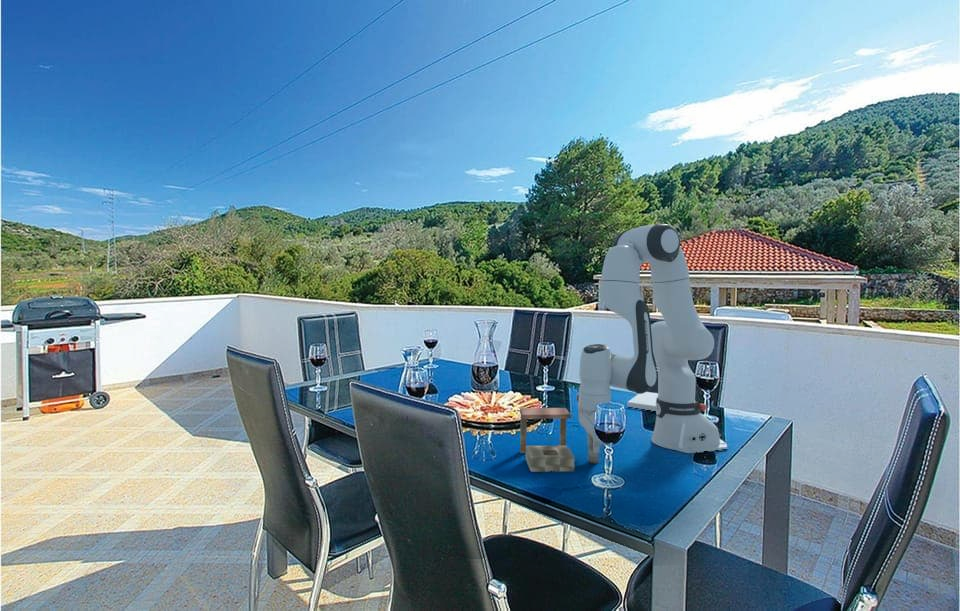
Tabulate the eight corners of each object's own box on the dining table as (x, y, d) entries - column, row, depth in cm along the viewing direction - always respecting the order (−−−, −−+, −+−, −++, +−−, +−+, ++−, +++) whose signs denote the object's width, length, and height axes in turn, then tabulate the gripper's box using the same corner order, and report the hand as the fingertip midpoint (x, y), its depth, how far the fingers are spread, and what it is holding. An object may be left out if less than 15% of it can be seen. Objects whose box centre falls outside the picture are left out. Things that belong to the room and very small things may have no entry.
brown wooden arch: (564, 450, 149) (565, 407, 149) (569, 458, 142) (570, 414, 142) (519, 450, 149) (519, 408, 148) (522, 459, 142) (523, 414, 141)
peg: (596, 459, 142) (597, 432, 141) (599, 463, 139) (600, 435, 138) (587, 459, 142) (587, 432, 141) (589, 463, 139) (590, 435, 138)
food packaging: (665, 415, 191) (677, 403, 207) (665, 407, 190) (677, 395, 207) (627, 410, 199) (642, 398, 216) (627, 402, 199) (642, 391, 215)
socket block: (566, 458, 142) (566, 445, 142) (574, 471, 133) (574, 456, 133) (525, 459, 142) (526, 445, 142) (530, 471, 133) (530, 457, 133)
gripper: (617, 411, 129) (616, 463, 130) (595, 393, 149) (594, 437, 150) (594, 412, 129) (593, 463, 129) (574, 393, 149) (574, 437, 150)
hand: (593, 449), depth 140 cm, fingers closed on peg, 3 cm apart
